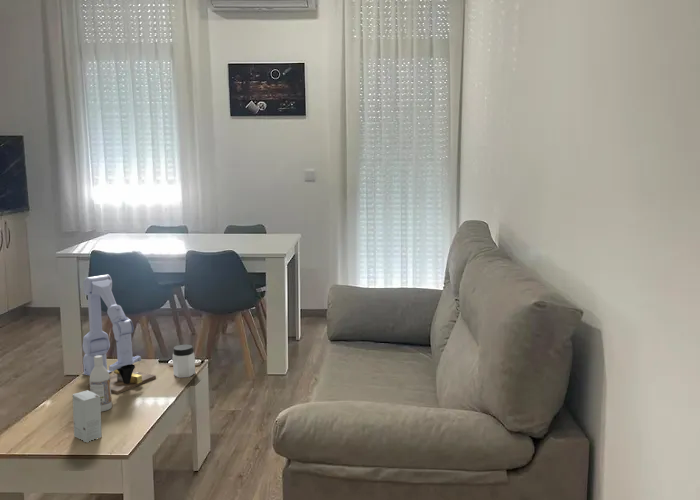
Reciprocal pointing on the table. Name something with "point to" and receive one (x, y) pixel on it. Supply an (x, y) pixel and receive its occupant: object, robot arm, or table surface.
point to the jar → (183, 361)
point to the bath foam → (101, 383)
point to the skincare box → (87, 416)
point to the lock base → (120, 386)
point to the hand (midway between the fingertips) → (126, 383)
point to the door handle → (133, 377)
